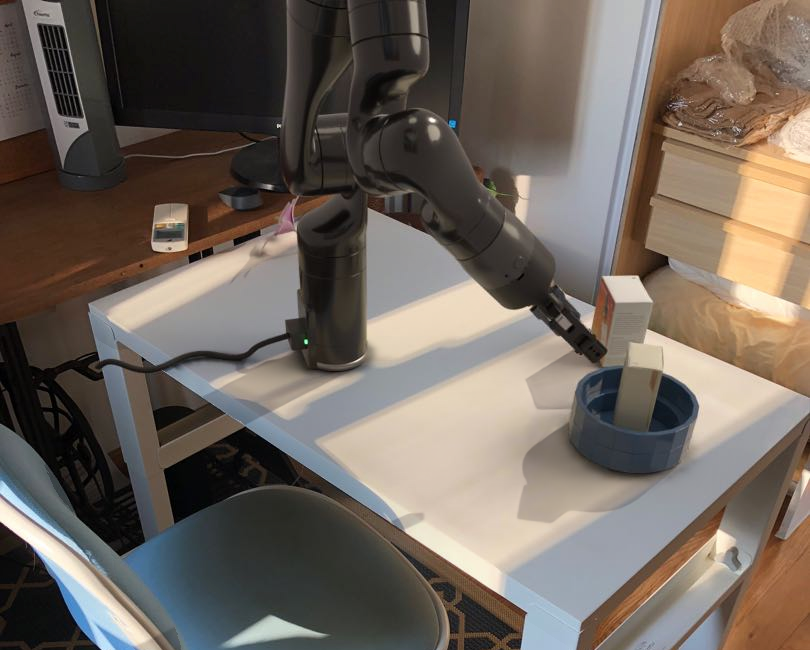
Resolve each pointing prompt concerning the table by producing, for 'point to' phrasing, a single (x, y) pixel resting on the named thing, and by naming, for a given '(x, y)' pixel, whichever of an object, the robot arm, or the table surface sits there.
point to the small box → (620, 316)
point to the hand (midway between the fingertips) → (584, 337)
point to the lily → (285, 221)
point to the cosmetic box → (638, 387)
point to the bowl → (626, 446)
